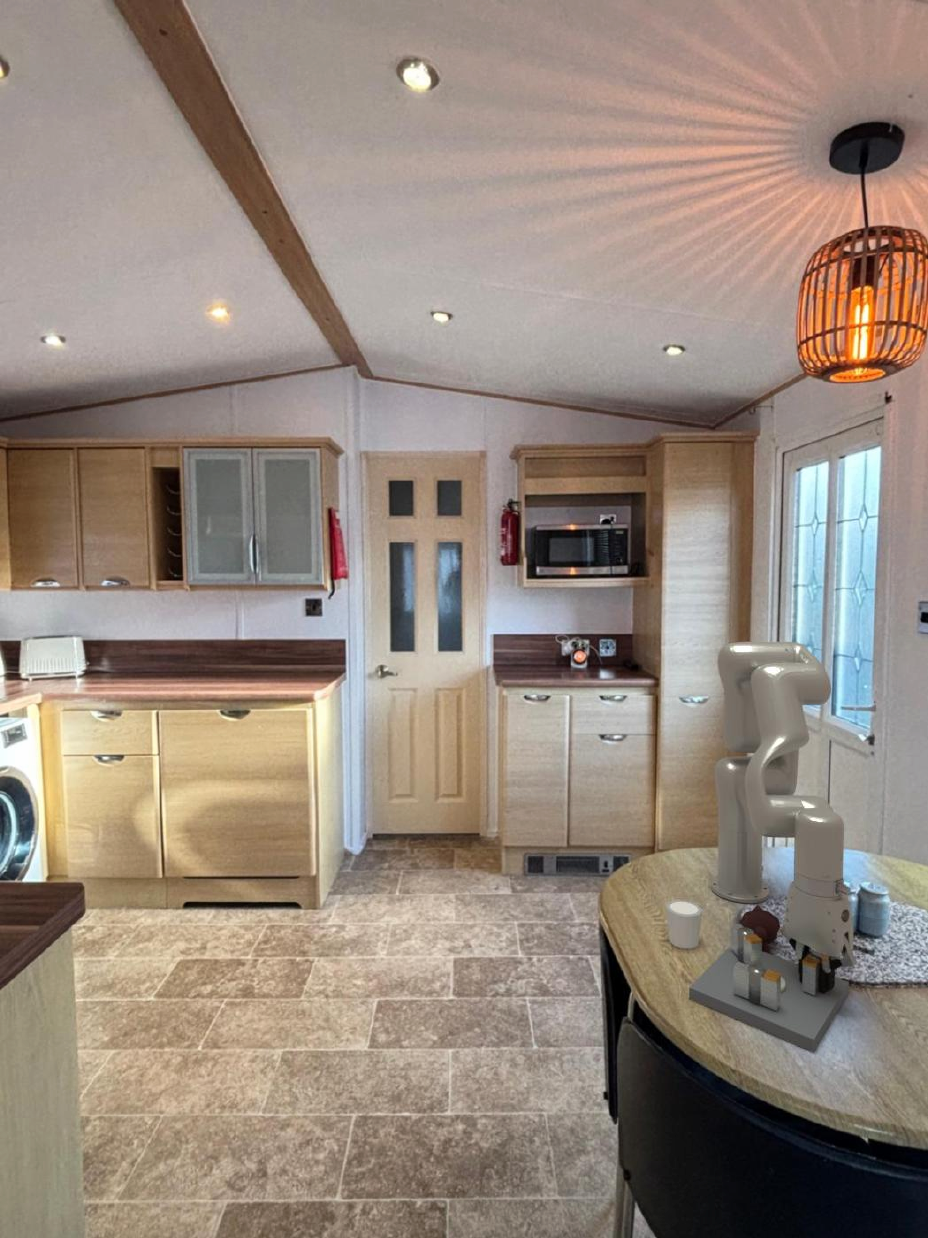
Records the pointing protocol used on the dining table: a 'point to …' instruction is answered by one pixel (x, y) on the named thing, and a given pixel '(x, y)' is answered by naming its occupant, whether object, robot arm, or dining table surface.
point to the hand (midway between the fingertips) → (815, 984)
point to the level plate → (793, 1020)
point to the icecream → (762, 926)
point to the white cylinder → (683, 923)
